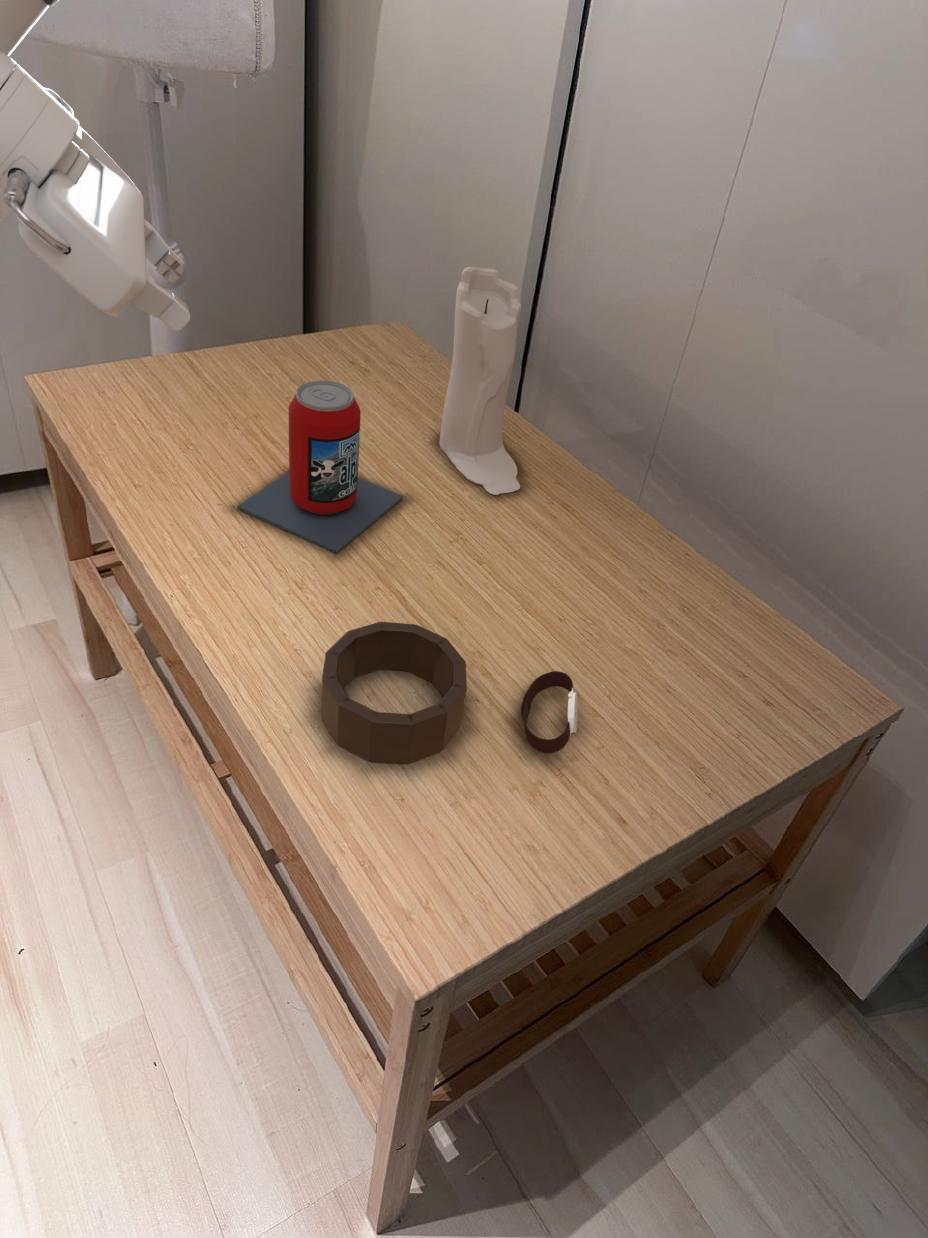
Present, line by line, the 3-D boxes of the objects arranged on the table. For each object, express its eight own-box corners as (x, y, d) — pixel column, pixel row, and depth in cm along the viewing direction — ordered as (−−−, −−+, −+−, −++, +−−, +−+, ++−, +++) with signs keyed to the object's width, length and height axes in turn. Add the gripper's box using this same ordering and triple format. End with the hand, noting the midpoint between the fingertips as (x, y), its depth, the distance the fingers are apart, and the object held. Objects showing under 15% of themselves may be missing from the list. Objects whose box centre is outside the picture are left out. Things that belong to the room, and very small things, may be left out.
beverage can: (329, 528, 85) (331, 418, 77) (275, 502, 87) (272, 393, 79) (369, 499, 89) (375, 393, 82) (318, 475, 92) (319, 369, 84)
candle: (478, 498, 93) (507, 316, 80) (429, 434, 102) (448, 261, 89) (537, 489, 95) (574, 312, 82) (484, 428, 105) (510, 259, 92)
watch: (572, 765, 66) (582, 734, 64) (512, 752, 67) (520, 721, 64) (579, 695, 72) (588, 664, 70) (524, 683, 72) (531, 652, 70)
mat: (237, 509, 86) (237, 505, 86) (309, 460, 94) (309, 456, 94) (337, 554, 83) (337, 550, 82) (402, 499, 91) (403, 495, 91)
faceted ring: (294, 722, 66) (294, 681, 63) (371, 644, 74) (374, 604, 71) (414, 786, 63) (420, 746, 60) (482, 697, 71) (490, 658, 68)
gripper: (34, 161, 50) (219, 323, 60) (55, 84, 65) (201, 225, 74) (-32, 238, 52) (158, 385, 61) (3, 147, 67) (153, 277, 76)
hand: (182, 296), depth 68 cm, fingers open, 8 cm apart
